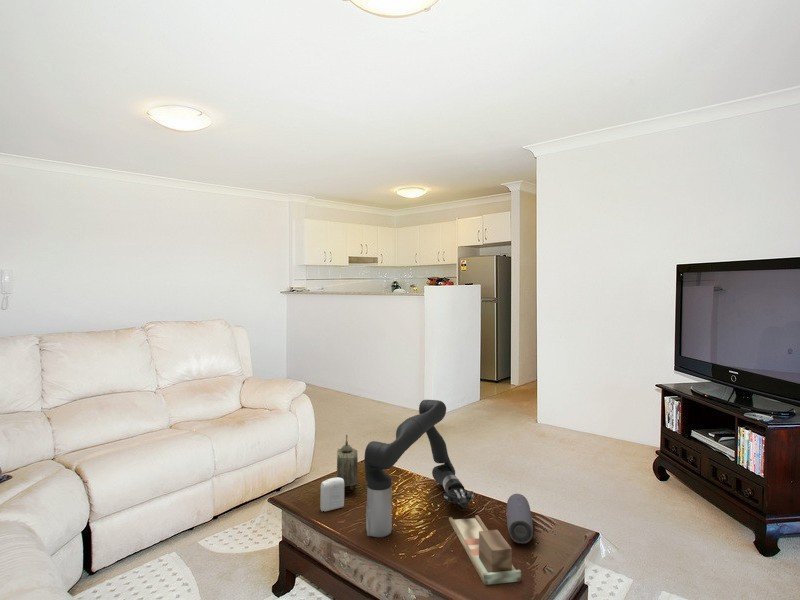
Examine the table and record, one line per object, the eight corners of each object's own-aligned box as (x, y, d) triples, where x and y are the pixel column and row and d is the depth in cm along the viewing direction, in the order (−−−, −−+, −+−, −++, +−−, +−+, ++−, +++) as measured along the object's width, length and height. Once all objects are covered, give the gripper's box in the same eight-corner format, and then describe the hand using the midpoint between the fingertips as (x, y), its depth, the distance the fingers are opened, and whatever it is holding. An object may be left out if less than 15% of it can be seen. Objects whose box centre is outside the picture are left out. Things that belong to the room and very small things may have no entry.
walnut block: (492, 579, 143) (492, 550, 143) (478, 557, 155) (479, 531, 155) (511, 577, 145) (511, 548, 145) (497, 556, 156) (497, 529, 156)
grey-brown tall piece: (337, 483, 217) (337, 430, 216) (357, 483, 218) (357, 430, 217) (336, 497, 202) (337, 440, 202) (357, 496, 203) (357, 439, 203)
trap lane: (484, 584, 141) (484, 575, 141) (448, 520, 181) (448, 512, 181) (521, 581, 143) (521, 571, 143) (477, 518, 183) (477, 510, 183)
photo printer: (341, 503, 197) (341, 474, 197) (345, 506, 193) (345, 477, 193) (318, 509, 191) (318, 479, 191) (323, 513, 187) (323, 482, 187)
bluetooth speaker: (505, 515, 186) (505, 491, 185) (529, 518, 184) (529, 493, 184) (506, 545, 163) (507, 517, 163) (534, 548, 161) (534, 520, 161)
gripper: (438, 479, 196) (448, 496, 179) (468, 477, 198) (481, 494, 181) (438, 496, 197) (448, 516, 179) (468, 494, 199) (481, 513, 181)
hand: (465, 505), depth 180 cm, fingers closed
